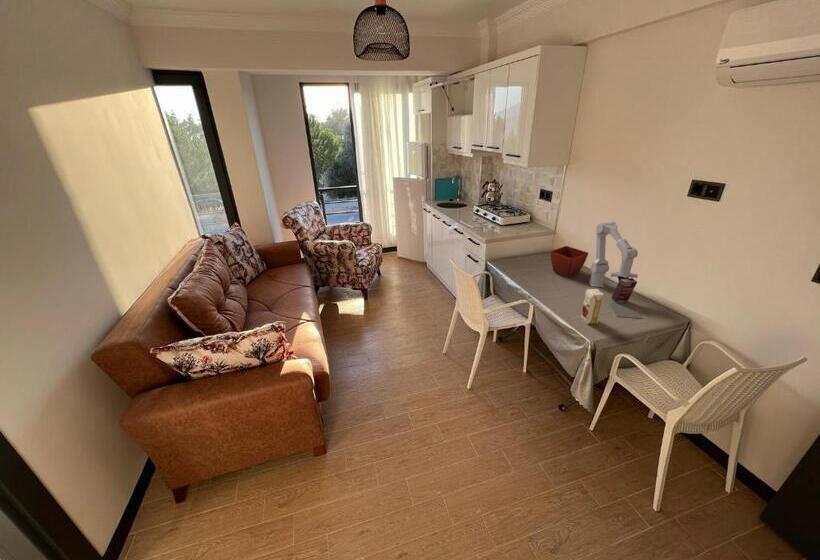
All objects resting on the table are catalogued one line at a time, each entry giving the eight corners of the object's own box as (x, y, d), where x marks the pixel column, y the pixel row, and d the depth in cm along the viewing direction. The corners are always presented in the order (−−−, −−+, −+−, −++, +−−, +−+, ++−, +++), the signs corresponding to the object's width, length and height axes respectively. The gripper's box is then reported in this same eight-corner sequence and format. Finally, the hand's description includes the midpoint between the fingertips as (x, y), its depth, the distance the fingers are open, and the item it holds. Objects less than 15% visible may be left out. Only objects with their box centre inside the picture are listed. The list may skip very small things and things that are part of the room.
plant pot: (568, 280, 237) (572, 258, 230) (546, 271, 252) (549, 251, 245) (585, 273, 246) (589, 252, 238) (562, 265, 261) (566, 245, 253)
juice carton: (591, 316, 193) (598, 288, 185) (599, 324, 186) (606, 295, 177) (578, 317, 193) (584, 288, 185) (586, 325, 185) (592, 295, 177)
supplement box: (615, 303, 205) (624, 283, 196) (610, 299, 209) (619, 278, 200) (628, 302, 206) (637, 282, 196) (623, 297, 210) (632, 277, 200)
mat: (609, 303, 206) (609, 302, 206) (632, 305, 203) (632, 304, 202) (617, 316, 192) (617, 316, 192) (642, 318, 189) (642, 318, 189)
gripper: (614, 269, 199) (609, 289, 205) (641, 270, 195) (635, 290, 201) (611, 264, 205) (606, 284, 211) (637, 266, 202) (632, 285, 207)
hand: (620, 287), depth 206 cm, fingers closed
